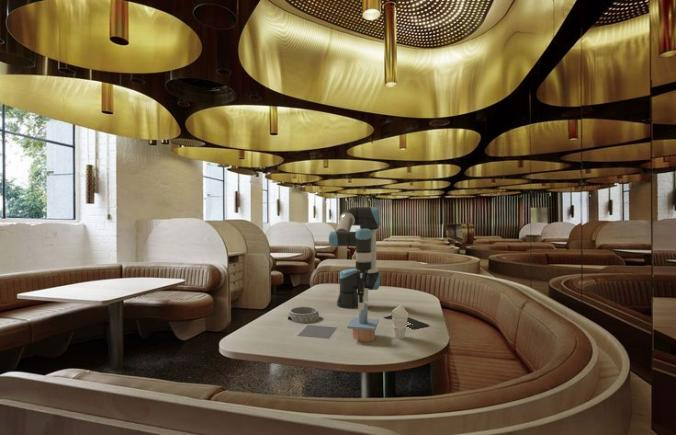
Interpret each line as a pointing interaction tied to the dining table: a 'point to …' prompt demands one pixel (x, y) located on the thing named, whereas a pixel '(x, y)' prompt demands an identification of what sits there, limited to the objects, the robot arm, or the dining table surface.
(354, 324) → the lid
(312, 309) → the dog bowl
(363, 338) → the bowl
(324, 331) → the mat
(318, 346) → the dining table surface
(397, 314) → the soft serve ice cream cone
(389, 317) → the black flat irregular plate
